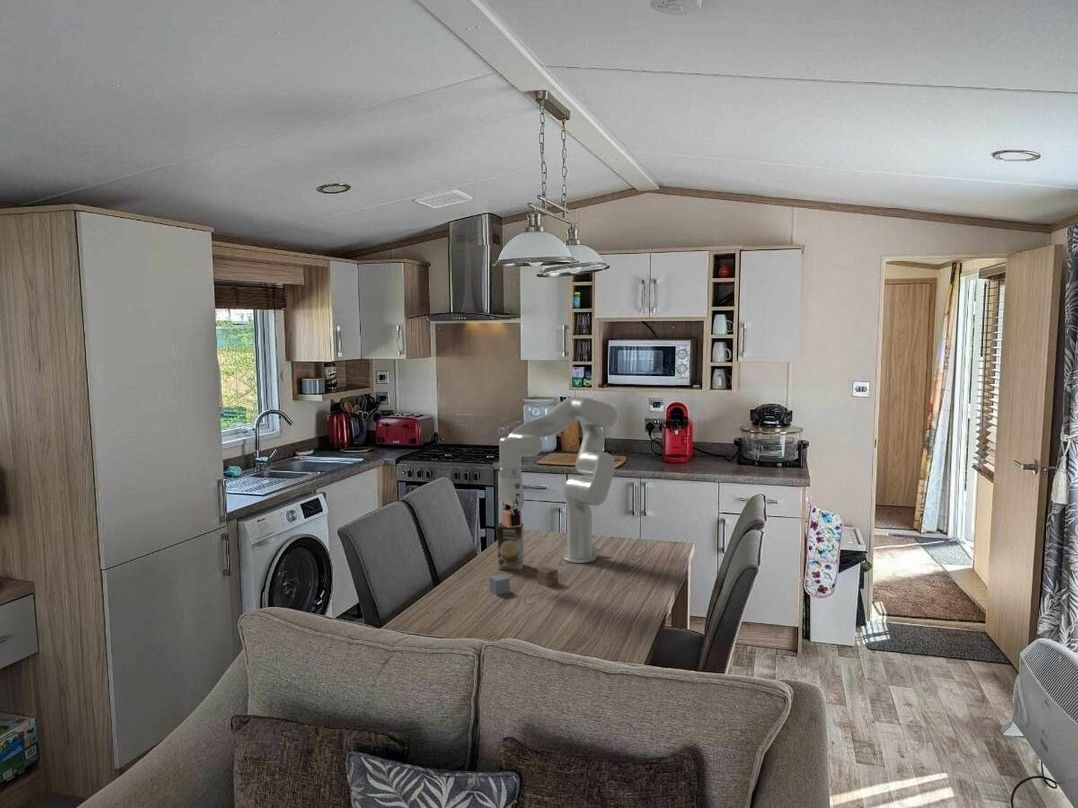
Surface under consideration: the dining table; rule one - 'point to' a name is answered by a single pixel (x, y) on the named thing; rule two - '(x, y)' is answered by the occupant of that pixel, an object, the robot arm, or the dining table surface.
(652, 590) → the dining table surface
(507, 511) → the rust block
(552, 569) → the walnut block
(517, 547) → the coffee box
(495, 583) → the slate block
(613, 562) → the dining table surface
